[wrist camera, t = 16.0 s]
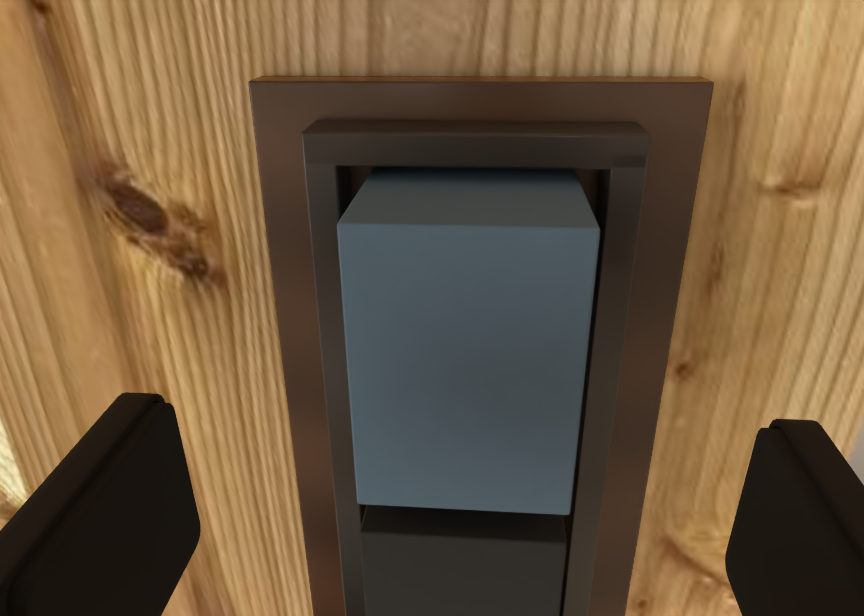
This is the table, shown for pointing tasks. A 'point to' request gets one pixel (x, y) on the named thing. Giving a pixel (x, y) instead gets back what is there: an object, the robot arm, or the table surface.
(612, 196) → the backing board
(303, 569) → the table surface
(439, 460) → the blue-grey rectangular block
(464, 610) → the pad
